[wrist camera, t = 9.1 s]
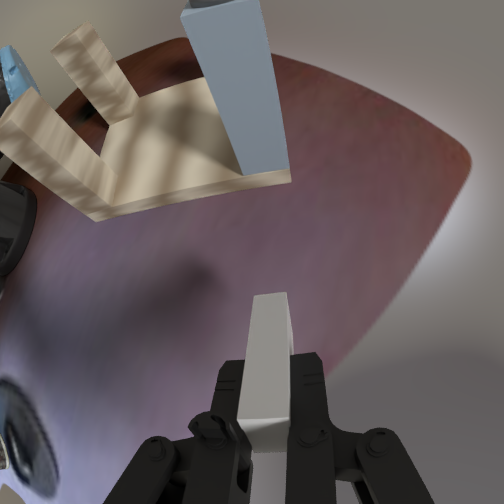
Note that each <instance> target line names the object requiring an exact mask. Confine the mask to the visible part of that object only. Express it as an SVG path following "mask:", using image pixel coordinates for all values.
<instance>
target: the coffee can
mask: <svg viewBox="0 0 504 504" xmlns="http://www.w3.org/2000/svg"><path fill="white" fill-rule="evenodd" d="M8 468H9V457H8V453H7V450H6V446H5V443H4V441H3V438H2V436H1V434H0V470H1V469H8Z"/></svg>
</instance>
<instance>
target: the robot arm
mask: <svg viewBox="0 0 504 504" xmlns="http://www.w3.org/2000/svg"><path fill="white" fill-rule="evenodd" d="M31 86H32V87H33V88H34V89H35V90H36V91H37V92H38V93H39V95H40V96H41V94H40V92H39V90H38V87H37V85H36V83H35V82H34V80H33V78H32V76H31V74H30V72H29V71H28V69H27V67H26V65H25V64H24V62H23V61H22V59H21V57H20V56H19V55H18V53H17V52H16V50H15V49H13V48H12V46H10V45H7V46H5V47H4V48H2V49H1V50H0V118H1V117H2V115H3V113H4V112H5V110H6V108H7V107H8V106H9V105H10V104H11V103H12V102H14V101H15V100H16V99H17V98H18V97H19V96H20V95H21V94H23V93H24V92H25V91H26V90H27V89H29V88H30V87H31ZM3 155H4V153H2V152H1V151H0V159H1V158H2V156H3ZM36 208H37V202H36V196H35V194H34V193H33V192H32V191H30V190H29V189H27V188H26V187H24V186H22V185H17V184H13V183H8V182H4V181H0V275H1V276H4V275H7V274H8V273H9V272H11V271H12V270H13V268H14V267H15V266H16V264H17V263H18V261H19V260H20V258H21V256H22V254H23V252H24V250H25V248H26V245H27V243H28V241H29V238H30V235H31V232H32V229H33V225H34V221H35V216H36ZM188 428H189V430H190V431H191V432H192V433H193V435H194V437H191V438H187V439H182V440H177V441H170V440H169V439H167V438H166V437H162V436H154V437H151V438H149V439H147V440H145V441H144V442H143V444H142V445H141V446H140V448H139V449H138V451H137V452H136V454H135V455H134V457H133V458H132V460H131V461H130V463H129V464H128V466H127V468H126V469H125V471H124V472H123V474H122V475H121V477H120V478H119V480H118V481H117V483H116V484H115V486H114V487H113V489H112V490H111V492H110V493H109V495H108V497H107V498H106V500H105V501H104V503H103V504H249V503H250V493H251V483H252V473H253V463H252V460H251V452H252V450H253V451H254V453H270V452H287V470H286V497H285V504H336V486H335V485H336V484H335V480H341V481H348V482H351V484H352V487H353V489H354V491H355V494H356V496H357V499H358V501H359V504H434V501H433V500H432V498H431V496H430V494H429V492H428V490H427V488H426V486H425V484H424V483H423V481H422V479H421V477H420V475H419V473H418V472H417V470H416V468H415V466H414V464H413V462H412V461H411V459H410V457H409V455H408V454H407V451H406V450H405V448H404V446H403V445H402V443H401V441H400V439H399V438H398V436H397V435H396V434H395V433H394V432H393V431H392V430H389V429H387V428H375V429H371V430H369V431H367V432H366V433H364V434H362V433H353V432H346V431H342V430H340V429H338V428H337V427H335V426H334V425H333V424H332V422H331V420H330V418H329V414H328V405H327V397H326V389H325V380H324V373H323V365H322V360H321V359H320V358H319V356H318V355H317V354H316V352H312V353H304V354H296V355H293V334H292V327H291V321H290V314H289V307H288V301H287V294H286V292H280V293H272V294H264V295H256V296H254V300H253V307H252V314H251V322H250V329H249V336H248V343H247V351H246V358H245V360H230V361H226V362H225V363H224V364H223V366H222V367H221V369H220V370H219V374H218V378H217V383H216V387H215V392H214V396H213V400H212V405H211V409H210V411H208V412H203V413H201V414H198V415H196V416H195V417H194V418H193V419H192V420H191V421H190V423H189V425H188Z"/></svg>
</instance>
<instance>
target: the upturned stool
mask: <svg viewBox="0 0 504 504" xmlns="http://www.w3.org/2000/svg"><path fill="white" fill-rule="evenodd" d="M50 52H51V53H52V54H53V56H54V57H55V58H56V60H57V61H58V62H59V63H60V65H61V66H62V67H63V69H64V70H65V71H66V72H67V74H68V75H69V76H70V77H71V78H72V80H73V81H74V82H75V84H76V85H77V86H78V87H79V89H80V90H81V91H82V92H83V94H84V95H85V96H86V97H87V99H88V100H89V101H90V102H91V103H92V105H93V106H94V107H95V108H96V110H97V111H98V112H99V113H100V114H101V116H102V117H103V118H104V119H105V120H106V122H107V123H108V124H109V125H110V126H109V129H108V132H107V135H106V138H105V141H104V144H103V148H102V151H101V154H100V157H99V156H98V155H97V154H96V153H95V152H94V151H93V150H92V149H91V148H90V147H89V146H88V145H87V144H86V143H85V142H84V141H83V140H82V139H81V138H80V137H79V136H78V135H77V134H76V133H75V132H74V131H73V130H72V129H71V128H70V127H69V126H68V125H67V123H66V122H65V121H64V120H63V119H62V118H61V117H60V116H59V115H58V114H57V113H56V112H55V111H54V110H53V109H52V108H51V106H50V105H49V104H48V103H47V102H46V101H45V100H44V99H43V98H42V97H41V96H40V95H39V93H38V92H37V91H36V90H35V89H34V88H33V87H32V86H31V87H30V88H29V89H27V90H26V91H25V92H24V93H23V94H21V95H20V96H19V97H18V98H17V99H16V100H15V101H14V102H12V103H11V104H10V105H9V106H8V107H7V108H6V110H5V112H4V113H3V115H2V117H1V118H0V151H1V152H2V153H4V154H5V155H6V156H7V157H9V158H10V159H11V160H12V161H14V162H15V163H16V164H17V165H19V166H20V167H21V168H22V169H24V170H25V171H26V172H27V173H29V174H30V175H31V176H33V177H34V178H35V179H37V180H38V181H39V182H41V183H42V184H43V185H45V186H46V187H47V188H49V189H50V190H51V191H53V192H54V193H55V194H57V195H58V196H60V197H61V198H62V199H64V200H65V201H66V202H68V203H69V204H71V205H72V206H73V207H75V208H76V209H78V210H79V211H81V212H82V213H83V214H85V215H86V216H88V217H89V218H91V219H92V220H94V221H95V222H99V221H103V220H106V219H110V218H114V217H118V216H122V215H126V214H130V213H134V212H138V211H142V210H146V209H151V208H155V207H160V206H164V205H169V204H173V203H178V202H183V201H187V200H192V199H197V198H202V197H207V196H212V195H218V194H223V193H229V192H234V191H240V190H246V189H252V188H258V187H264V186H270V185H277V184H283V183H290V182H291V175H290V168H289V169H282V170H275V171H269V172H263V173H257V174H251V175H245V176H243V173H242V170H241V168H240V165H239V163H238V160H237V157H236V155H235V152H234V150H233V147H232V145H231V142H230V139H229V137H228V134H227V132H226V129H225V127H224V124H223V122H222V119H221V117H220V114H219V112H218V109H217V107H216V104H215V102H214V99H213V97H212V94H211V92H210V89H209V87H208V84H207V82H206V79H205V77H202V78H198V79H195V80H191V81H188V82H185V83H181V84H178V85H175V86H172V87H169V88H166V89H163V90H160V91H157V92H154V93H151V94H149V95H146V96H143V97H141V98H139V97H138V95H137V94H136V92H135V91H134V89H133V88H132V86H131V85H130V83H129V82H128V80H127V79H126V77H125V76H124V74H123V73H122V71H121V69H120V68H119V66H118V65H117V63H116V62H115V60H114V59H113V57H112V56H111V54H110V53H109V51H108V50H107V48H106V47H105V45H104V44H103V42H102V40H101V39H100V37H99V36H98V34H97V33H96V31H95V29H94V28H93V26H92V25H91V23H90V22H89V21H87V22H85V23H84V24H82V25H80V26H79V27H77V28H76V29H74V30H72V31H71V32H70V33H68V34H67V35H65V36H64V37H63V38H62V39H61V40H60V41H59V42H58V43H57V44H56V45H55V46H54V47H53V48H52V50H51V51H50Z"/></svg>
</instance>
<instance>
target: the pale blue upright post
mask: <svg viewBox="0 0 504 504" xmlns="http://www.w3.org/2000/svg"><path fill="white" fill-rule="evenodd" d="M180 19H181V22H182V24H183V26H184V29H185V31H186V33H187V36H188V38H189V41H190V43H191V45H192V48H193V50H194V53H195V55H196V57H197V60H198V62H199V65H200V67H201V69H202V72H203V74H204V77H205V79H206V82H207V84H208V87H209V89H210V92H211V94H212V97H213V99H214V102H215V104H216V107H217V109H218V112H219V114H220V117H221V119H222V122H223V124H224V127H225V129H226V132H227V134H228V137H229V139H230V142H231V145H232V147H233V150H234V152H235V155H236V157H237V160H238V163H239V165H240V168H241V170H242V173H243V176H245V175H251V174H257V173H263V172H269V171H275V170H282V169H289V168H290V167H289V160H288V153H287V146H286V140H285V133H284V127H283V120H282V114H281V108H280V102H279V97H278V91H277V85H276V80H275V75H274V69H273V64H272V59H271V54H270V49H269V44H268V40H267V35H266V30H265V26H264V21H263V17H262V12H261V8H260V4H259V0H188V2H187V4H186V6H185V8H184V10H183V12H182V14H181V16H180Z"/></svg>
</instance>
